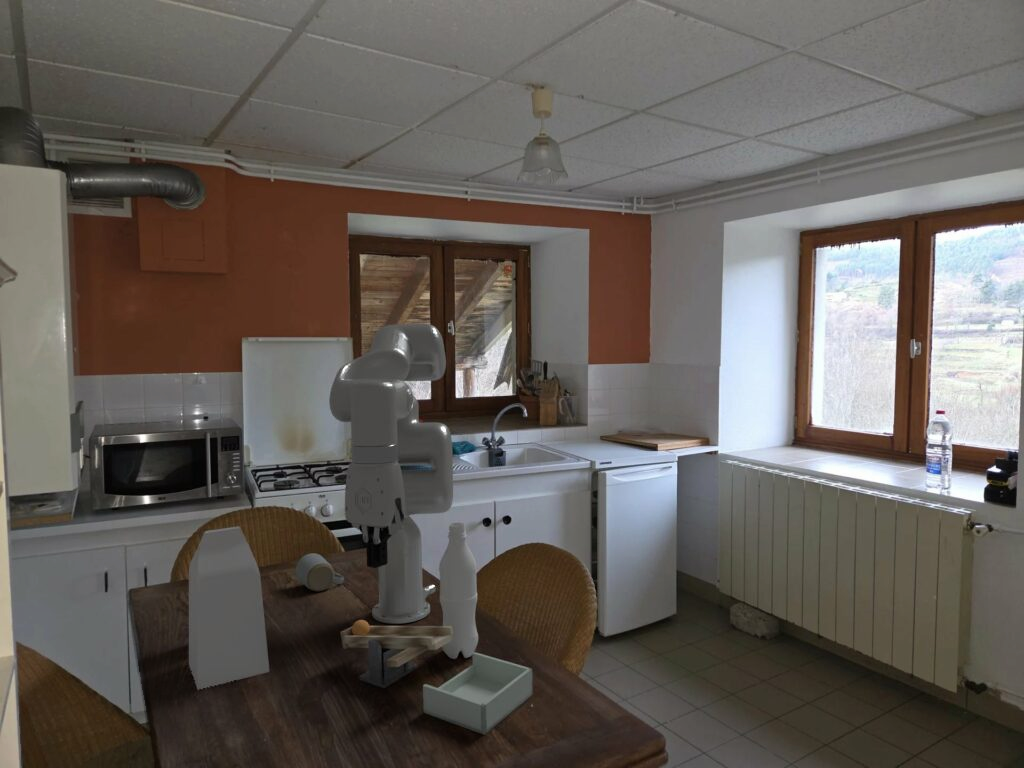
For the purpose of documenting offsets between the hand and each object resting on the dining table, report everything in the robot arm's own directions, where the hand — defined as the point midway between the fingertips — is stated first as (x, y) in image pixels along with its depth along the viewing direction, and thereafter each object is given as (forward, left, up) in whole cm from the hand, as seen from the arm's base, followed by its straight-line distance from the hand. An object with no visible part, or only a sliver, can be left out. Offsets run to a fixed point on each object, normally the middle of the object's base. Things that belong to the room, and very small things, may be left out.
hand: (377, 565), depth 116 cm
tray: (-7, +15, -23) cm, 28 cm away
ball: (-7, -12, -16) cm, 21 cm away
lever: (-4, -3, -17) cm, 17 cm away
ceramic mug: (-32, -50, -23) cm, 64 cm away
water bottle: (-20, +1, -23) cm, 30 cm away
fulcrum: (-7, -5, -23) cm, 24 cm away
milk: (+7, -32, -23) cm, 40 cm away
